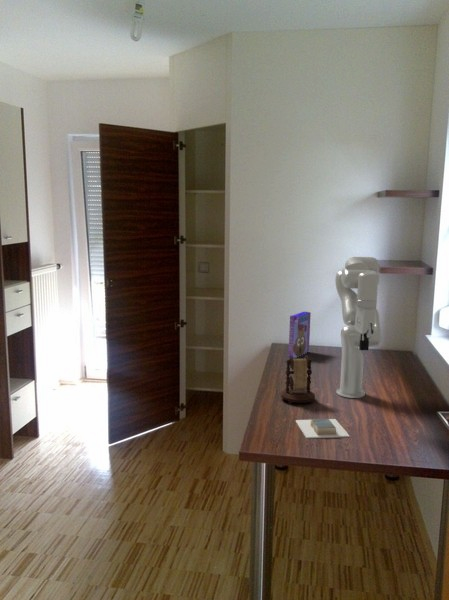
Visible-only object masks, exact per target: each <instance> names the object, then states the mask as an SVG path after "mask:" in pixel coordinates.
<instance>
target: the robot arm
mask: <svg viewBox="0 0 449 600" xmlns="http://www.w3.org/2000/svg"><path fill="white" fill-rule="evenodd" d="M379 269H380V263H379V261H378V260H377V259H376V258H375V257H373V256H352V257H350V258H348V259H347V260H346V262H345V264H344V267H343V268H342V270H338V272H337V273H336V275H335V280H334V281H335V287H336V288H335V289H336V292H337V294H338V296H339V298H340V301H341V314H342V320H343V323H344V324H345V326H343V327H342V328H341V331H340V341H341V365H340V380H339V381H340V383H339V388H337V389H336V395H338V396H340V397H344V398H349V399H360V398H363V397H365V395H366V392H365V391H364V390H363V388H362V387H363V373H364V371H363V369H364V355H363V353H362V351H369V348H377V347H379V346H380V345H381V343H382V339H383V337H382V330H381V321H380V315H379V311H378V309H377V304H378V301H377V300H378V290H379V289H378V288H379V287H378V286H379V283H380V276H379ZM353 289H357V291H356V292H357V293H356V292H355V291H354V290H353Z"/></svg>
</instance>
